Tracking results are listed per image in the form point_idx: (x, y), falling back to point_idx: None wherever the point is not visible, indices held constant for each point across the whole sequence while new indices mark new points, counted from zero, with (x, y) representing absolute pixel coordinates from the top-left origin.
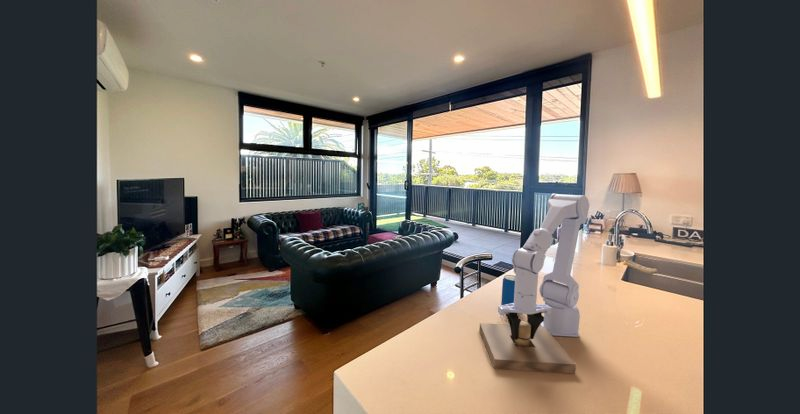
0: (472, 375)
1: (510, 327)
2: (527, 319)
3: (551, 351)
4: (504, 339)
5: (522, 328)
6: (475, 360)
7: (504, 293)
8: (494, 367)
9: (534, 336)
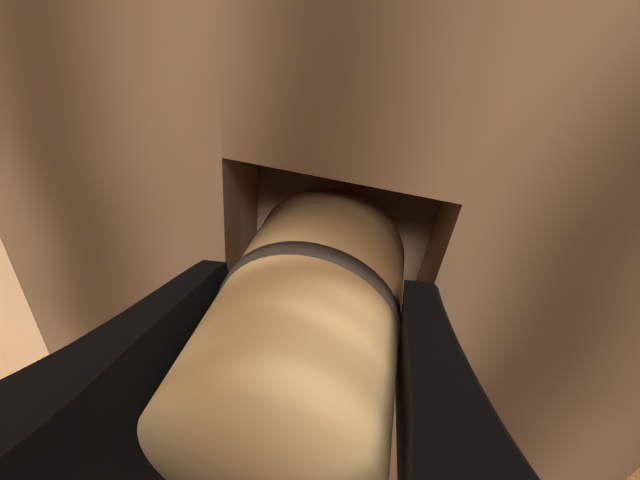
0: (10, 354)
1: (122, 319)
2: (409, 472)
3: (511, 427)
4: (148, 226)
5: None
6: (3, 277)
7: None
8: None
9: (557, 214)
